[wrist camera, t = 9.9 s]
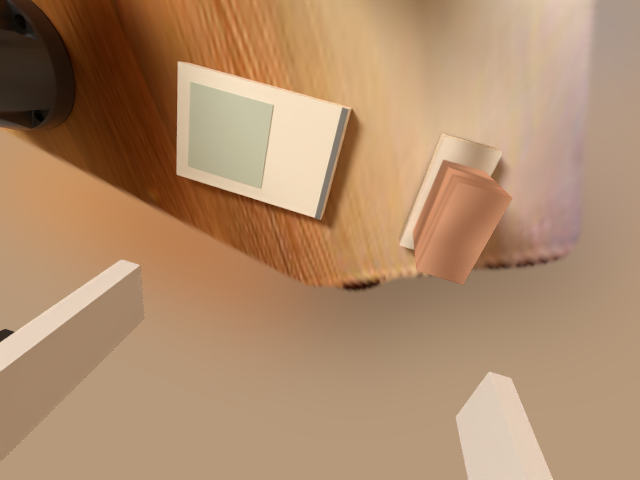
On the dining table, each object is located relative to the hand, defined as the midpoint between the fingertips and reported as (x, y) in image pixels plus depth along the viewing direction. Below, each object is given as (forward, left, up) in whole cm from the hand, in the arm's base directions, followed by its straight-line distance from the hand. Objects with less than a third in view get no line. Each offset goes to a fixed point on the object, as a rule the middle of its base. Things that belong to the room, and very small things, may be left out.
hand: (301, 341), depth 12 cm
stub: (+9, 0, -26) cm, 27 cm away
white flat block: (-12, 0, -26) cm, 29 cm away
